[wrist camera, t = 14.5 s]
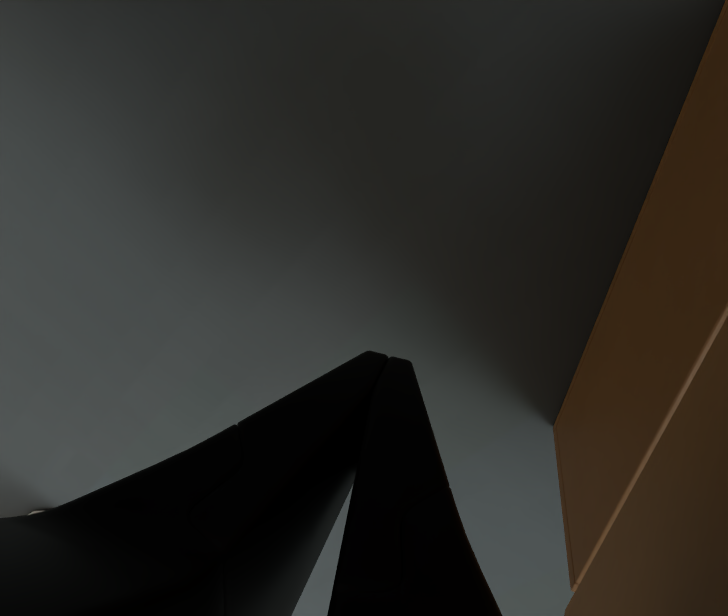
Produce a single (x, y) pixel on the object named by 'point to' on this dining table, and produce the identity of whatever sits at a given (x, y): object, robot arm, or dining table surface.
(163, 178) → the dining table surface
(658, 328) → the cardboard box
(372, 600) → the robot arm
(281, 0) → the dining table surface
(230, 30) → the dining table surface
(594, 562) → the flap
